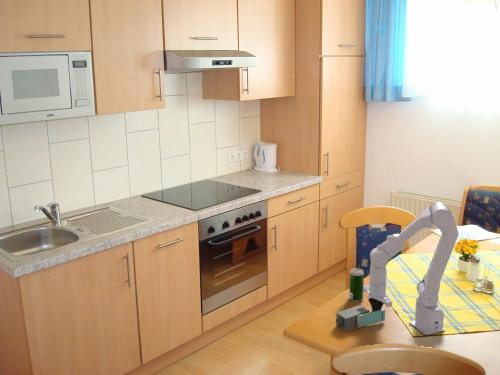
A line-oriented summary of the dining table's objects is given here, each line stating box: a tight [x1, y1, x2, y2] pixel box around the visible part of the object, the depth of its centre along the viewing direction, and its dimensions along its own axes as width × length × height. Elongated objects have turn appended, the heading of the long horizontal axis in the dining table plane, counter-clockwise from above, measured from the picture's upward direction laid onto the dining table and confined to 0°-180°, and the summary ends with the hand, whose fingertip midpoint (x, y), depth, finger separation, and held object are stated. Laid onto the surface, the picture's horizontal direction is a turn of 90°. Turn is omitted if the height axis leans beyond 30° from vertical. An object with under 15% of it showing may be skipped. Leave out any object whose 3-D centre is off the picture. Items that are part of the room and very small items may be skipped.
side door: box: [357, 308, 386, 329], centre depth 190 cm, size 12×1×4 cm, turn 114°
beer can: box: [348, 267, 365, 303], centre depth 210 cm, size 5×5×12 cm
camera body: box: [335, 304, 370, 332], centre depth 191 cm, size 12×5×6 cm, turn 122°
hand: (376, 317), depth 193 cm, fingers closed, pressing on side door
